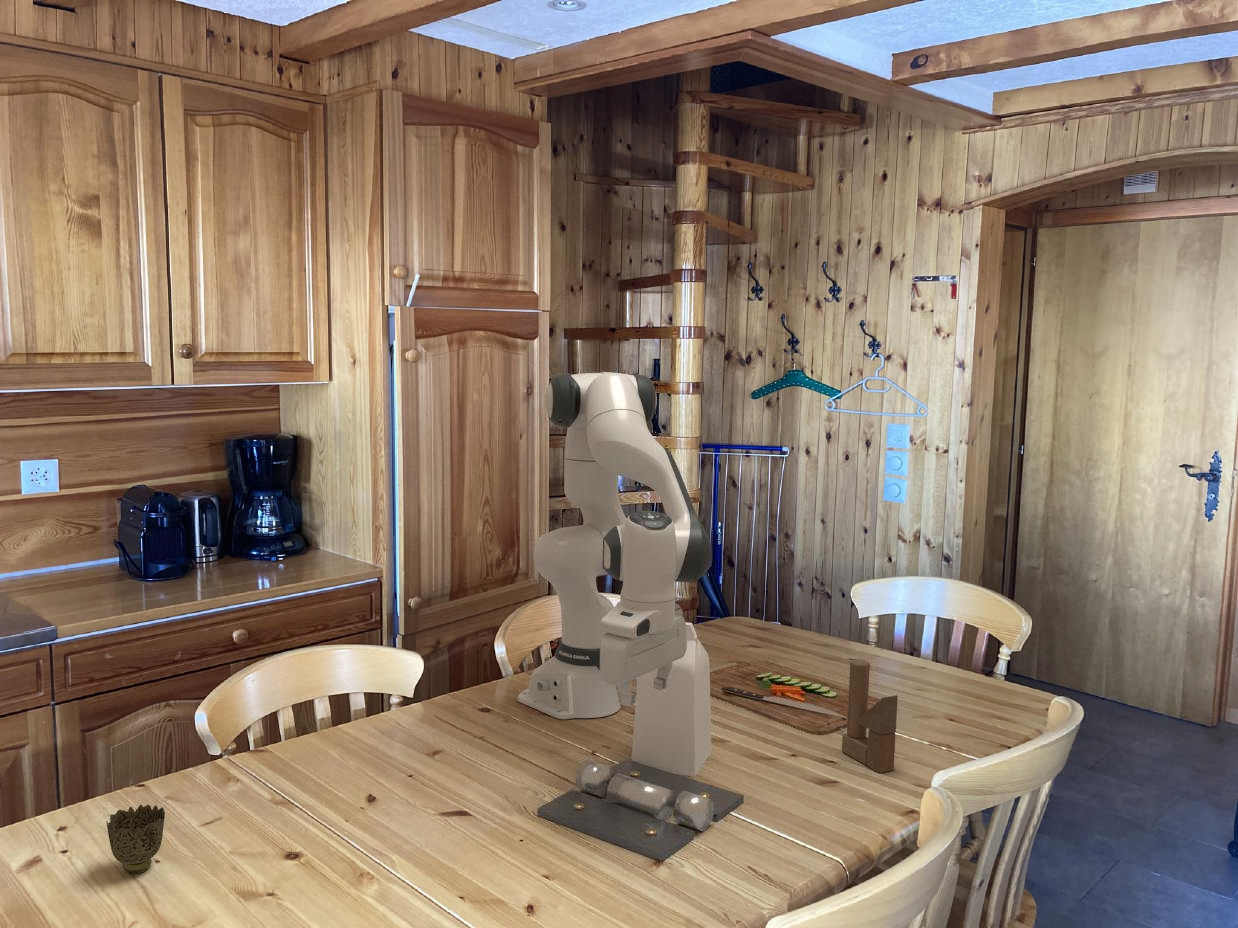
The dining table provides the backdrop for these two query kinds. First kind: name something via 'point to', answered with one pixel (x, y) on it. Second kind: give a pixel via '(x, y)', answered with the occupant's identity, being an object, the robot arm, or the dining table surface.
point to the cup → (136, 836)
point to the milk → (675, 714)
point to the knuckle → (640, 796)
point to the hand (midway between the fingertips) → (644, 696)
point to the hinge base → (634, 828)
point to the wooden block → (869, 723)
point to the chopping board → (784, 696)
